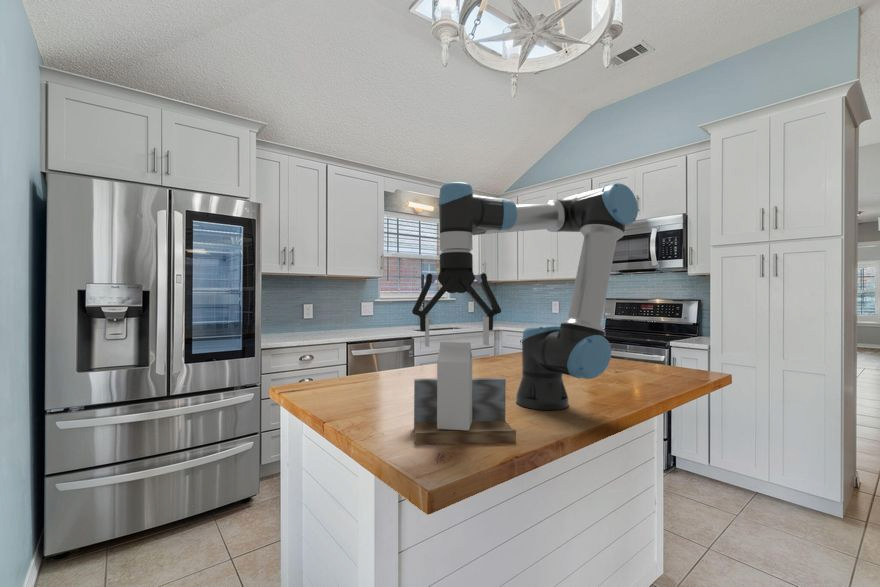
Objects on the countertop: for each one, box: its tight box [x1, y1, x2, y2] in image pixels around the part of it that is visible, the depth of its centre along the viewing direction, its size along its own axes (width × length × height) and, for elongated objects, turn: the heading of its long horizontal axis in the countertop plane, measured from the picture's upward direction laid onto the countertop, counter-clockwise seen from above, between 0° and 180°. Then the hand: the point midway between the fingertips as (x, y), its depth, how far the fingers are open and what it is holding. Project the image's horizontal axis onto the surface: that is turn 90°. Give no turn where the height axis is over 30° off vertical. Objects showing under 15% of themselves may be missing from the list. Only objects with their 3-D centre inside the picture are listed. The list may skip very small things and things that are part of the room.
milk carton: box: [436, 341, 473, 430], centre depth 94 cm, size 7×7×19 cm
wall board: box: [413, 377, 517, 446], centre depth 95 cm, size 22×11×12 cm, turn 96°
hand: (456, 345), depth 94 cm, fingers open, 13 cm apart
